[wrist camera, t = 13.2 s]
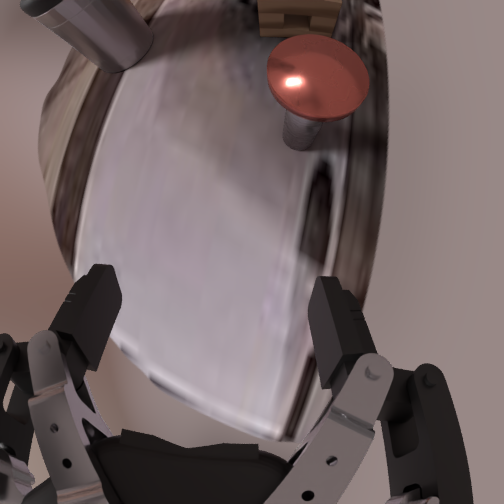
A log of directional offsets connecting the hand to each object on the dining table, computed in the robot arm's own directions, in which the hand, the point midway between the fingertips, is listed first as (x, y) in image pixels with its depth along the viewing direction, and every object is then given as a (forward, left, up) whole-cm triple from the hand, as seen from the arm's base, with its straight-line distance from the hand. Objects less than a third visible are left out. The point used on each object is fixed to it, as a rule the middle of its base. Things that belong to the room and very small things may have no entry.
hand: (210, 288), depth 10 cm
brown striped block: (-23, +19, -20) cm, 36 cm away
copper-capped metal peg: (-11, +12, -19) cm, 25 cm away
